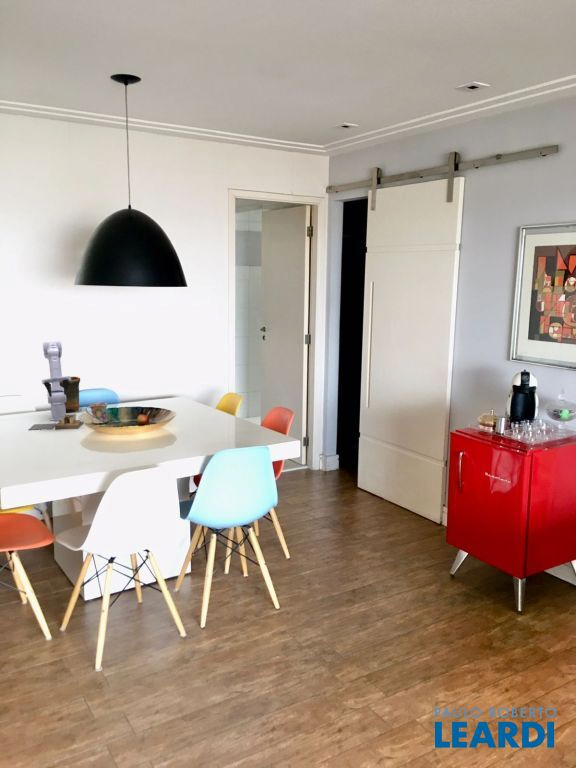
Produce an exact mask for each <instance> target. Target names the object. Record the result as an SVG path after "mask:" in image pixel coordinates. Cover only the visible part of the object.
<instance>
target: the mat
mask: <svg viewBox="0 0 576 768" xmlns="http://www.w3.org/2000/svg"><path fill="white" fill-rule="evenodd" d="M57 423H58V422H57ZM57 423H55V422H54V423H36V424H33V425H32V426H31V427H30V428H28V429H27V431H40V430H41V429H47V430H53V429H55V425H56V424H57ZM39 429H40V430H39ZM41 431H42V430H41Z"/></svg>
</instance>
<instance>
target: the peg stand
mask: <svg viewBox="0 0 576 768" xmlns="http://www.w3.org/2000/svg"><path fill="white" fill-rule="evenodd" d="M80 420H81V419H76V421H75V422H74V423H73V424H70V417H67V423H66V424H65V425H62V420H58V422H57V424H56V425H55V427H54V429H55V431H57V430H75V429H76V430H78V429H79V428H80V427H81V426H82V425H83V424H84V422H83V423H82V422H81V421H80Z"/></svg>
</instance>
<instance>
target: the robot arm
mask: <svg viewBox="0 0 576 768" xmlns="http://www.w3.org/2000/svg"><path fill="white" fill-rule="evenodd" d="M42 349H43V351H42V352H43V356H44V358H45V359H47V360H48V364H49V373H50V374H49V375H50V376H49V377H50V378H45V379H41V384H42V385H43V386H44V387H45V388H46V390H47V391H46V393H47V404H50V413H51V418H50V419H49V421H50V422H52V421H62V420H61V418H62V417H63V416H64V415H67V414H66V407H65V404H64V402H66V395H67V388H68V385H69V383H70V382H69V381H70V380H71V377H72V376H70V375H69V376H63V372H62V362H61V357H62V355H63V353H62V352H63V349H62V341H60V340H59V341H50V342H49V341H47V342H43V343H42ZM60 381H63V386H64V388H63V387H61V386H60V383H59V382H60Z"/></svg>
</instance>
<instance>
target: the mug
mask: <svg viewBox="0 0 576 768" xmlns="http://www.w3.org/2000/svg"><path fill="white" fill-rule="evenodd" d="M107 406H108V402H103V401H102V402H93V403H91V404H89V406H86V407H85V412H86V413H87V414H88V416H90V417H91V418H92V417H93V418H96V419H98V420H100V421H104V422H106V421H108V422H109V420H108V418H107V415H106V412H107V411H106V410H107ZM88 408H90V409H91V411H92V413H91V414H90V412H89V411H88ZM93 418H92V419H93ZM106 423H107V422H106Z"/></svg>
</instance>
